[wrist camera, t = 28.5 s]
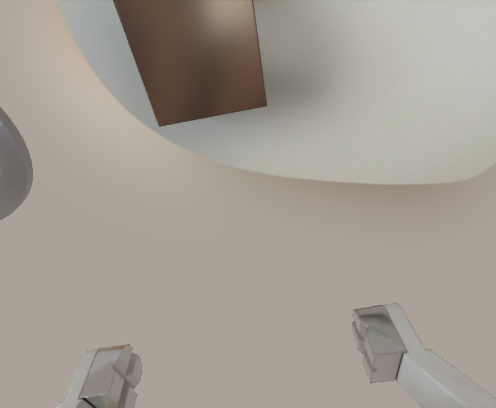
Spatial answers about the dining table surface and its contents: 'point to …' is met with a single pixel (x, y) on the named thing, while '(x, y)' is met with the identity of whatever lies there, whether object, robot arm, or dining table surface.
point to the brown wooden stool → (195, 56)
